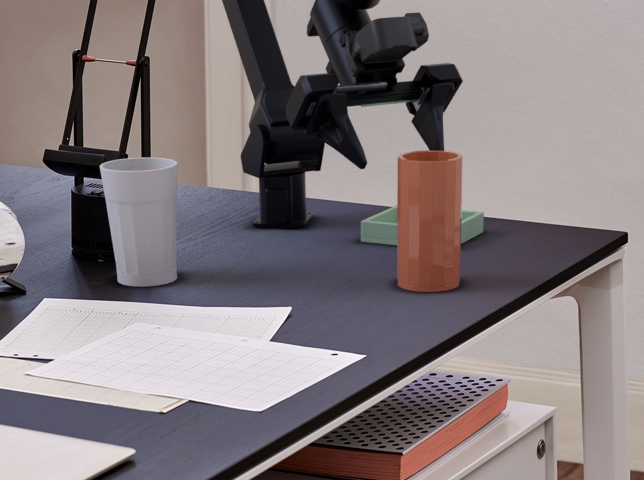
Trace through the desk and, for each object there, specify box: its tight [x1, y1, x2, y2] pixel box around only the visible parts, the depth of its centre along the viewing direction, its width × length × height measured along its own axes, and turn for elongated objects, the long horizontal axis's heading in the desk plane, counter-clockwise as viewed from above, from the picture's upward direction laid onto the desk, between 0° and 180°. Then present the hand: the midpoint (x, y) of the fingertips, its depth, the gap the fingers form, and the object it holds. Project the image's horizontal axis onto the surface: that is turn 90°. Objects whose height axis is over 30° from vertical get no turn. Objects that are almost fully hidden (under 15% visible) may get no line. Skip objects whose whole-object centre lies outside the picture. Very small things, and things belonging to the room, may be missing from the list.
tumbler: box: [396, 149, 464, 293], centre depth 137 cm, size 6×6×13 cm
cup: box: [99, 157, 178, 288], centre depth 142 cm, size 8×8×12 cm
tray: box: [360, 204, 485, 246], centre depth 159 cm, size 11×10×2 cm
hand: (403, 162), depth 139 cm, fingers open, 9 cm apart
